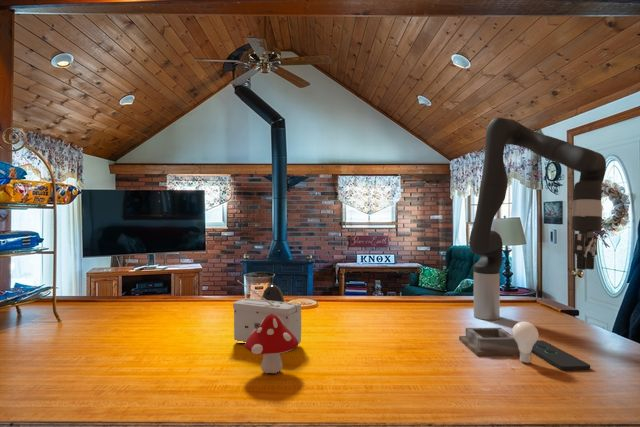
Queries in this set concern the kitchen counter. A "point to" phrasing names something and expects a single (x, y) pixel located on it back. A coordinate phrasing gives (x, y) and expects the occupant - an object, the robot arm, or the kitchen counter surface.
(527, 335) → the lightbulb
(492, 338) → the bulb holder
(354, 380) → the kitchen counter surface
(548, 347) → the smart home device
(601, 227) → the robot arm
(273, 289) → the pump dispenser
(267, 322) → the decorative mushroom
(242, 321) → the stereo radio cassette player
